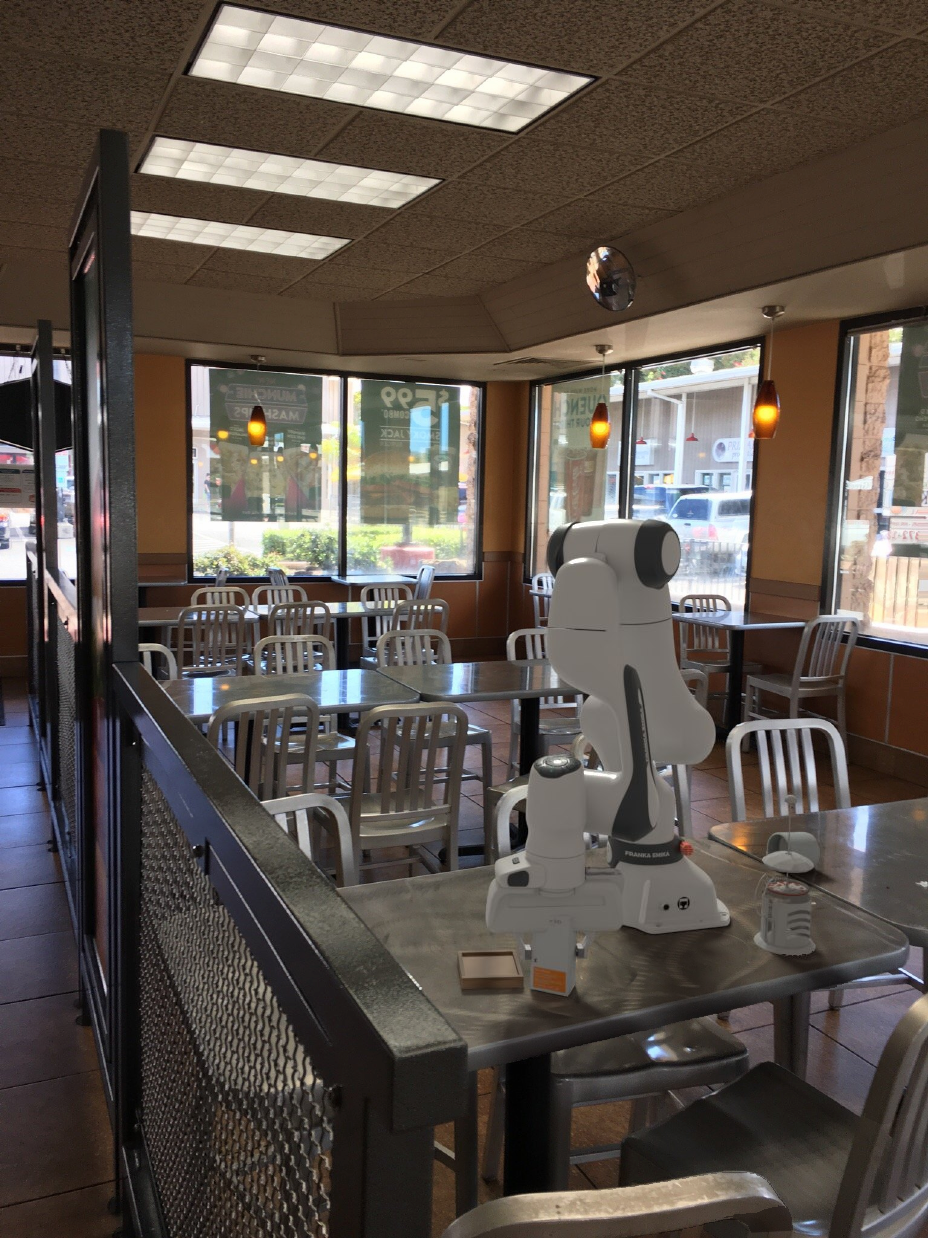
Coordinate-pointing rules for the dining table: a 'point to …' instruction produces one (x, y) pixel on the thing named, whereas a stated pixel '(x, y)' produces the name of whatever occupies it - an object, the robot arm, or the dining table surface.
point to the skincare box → (554, 957)
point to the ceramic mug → (796, 845)
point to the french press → (786, 904)
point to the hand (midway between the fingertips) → (553, 958)
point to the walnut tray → (490, 969)
